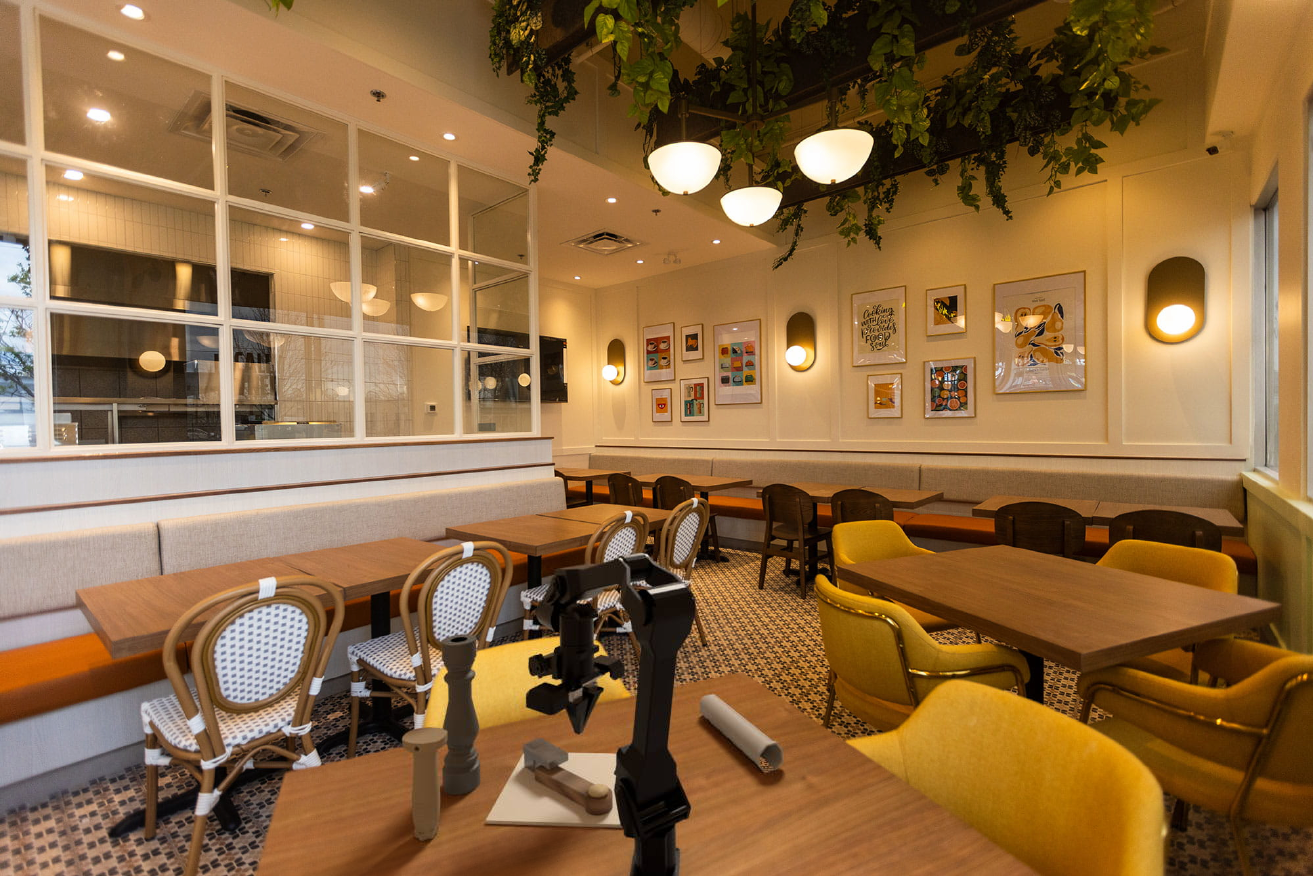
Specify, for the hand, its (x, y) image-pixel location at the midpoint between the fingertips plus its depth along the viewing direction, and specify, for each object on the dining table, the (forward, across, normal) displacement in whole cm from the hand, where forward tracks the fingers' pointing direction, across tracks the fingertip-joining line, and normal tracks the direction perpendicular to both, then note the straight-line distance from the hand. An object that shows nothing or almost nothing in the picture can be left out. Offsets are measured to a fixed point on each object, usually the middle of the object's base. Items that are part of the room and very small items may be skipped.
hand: (578, 733), depth 99 cm
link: (+9, +2, 0) cm, 9 cm away
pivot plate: (+10, 0, -2) cm, 10 cm away
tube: (+10, -29, +14) cm, 34 cm away
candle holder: (+10, +10, -18) cm, 23 cm away
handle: (+10, +21, -12) cm, 26 cm away
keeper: (+9, 0, -8) cm, 12 cm away
